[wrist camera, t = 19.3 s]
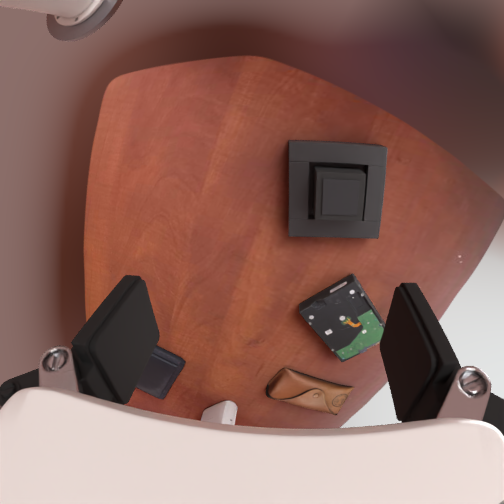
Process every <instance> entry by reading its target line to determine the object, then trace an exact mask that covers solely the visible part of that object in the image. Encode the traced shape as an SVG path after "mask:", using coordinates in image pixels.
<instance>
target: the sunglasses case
mask: <svg viewBox="0 0 504 504" xmlns="http://www.w3.org/2000/svg"><path fill="white" fill-rule="evenodd" d="M353 389H354V387H350V386H344V385H339V384H335V383H332V382H328V381H325V380H321V379H318V378H315V377H312V376H309V375H306V374H303V373H300V372H297V371H294V370H291V369H287V368H283V369H282V370H280V371H279V372H278V373H277V374H276V375H275V376H274V377H273V378H272V379H271V381H270V382H269V383H268V385H267V388H266V395H267V397H269V398H271V399H274V400H280V401H283V402H286V403H289V404H293V405H296V406H300V407H304V408H308V409H312V410H316V411H321V412H326V413H330V414H333V415H337V413H338V412H339V410H340V409H341V407H342V405H343V404H344V402H345V400H346V399H347V397H348V395H349V393H350V392H351V391H352V390H353Z"/></svg>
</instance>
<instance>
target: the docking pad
mask: <svg viewBox="0 0 504 504" xmlns="http://www.w3.org/2000/svg"><path fill="white" fill-rule="evenodd" d="M386 162H387V147H385V146H382V145H375V144H364V143H351V142H335V141H310V140H289V236H295V237H340V238H375V239H378V237H379V231H380V223H381V222H380V221H381V215H382V206H383V197H384V187H385V175H386ZM314 166H333V167H352V168H359V169H360V170H361V171H363V172H364V173H365V174H366V181H365V194H364V205H363V216H362V221H339V220H315V218H314V214H313V209H312V208H313V172H314Z"/></svg>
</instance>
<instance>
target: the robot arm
mask: <svg viewBox="0 0 504 504" xmlns="http://www.w3.org/2000/svg"><path fill="white" fill-rule="evenodd" d="M103 1H104V0H0V7H7V8H16V9H23V10H30V11H36V12H42V13H47V14H52V15H54V17H55V19H56V21H57V22H58V23H59V24H61V25H64V26H74V25H77V24H79V23H81V22H83V21H85V20H86V19H87V18H89V17H90V16H91V15H92V14H93V13H94V12H95V11H96V10H97V9H98V8H99V7H100V5H101V4H102V2H103ZM158 341H159V330H158V326H157V323H156V320H155V316H154V313H153V309H152V305H151V302H150V298H149V294H148V291H147V287H146V283H145V281H144V280H142V279H141V277H140V276H132V275H125V276H124V277H123V278H122V280H121V281H120V282H119V283H118V284H117V285H116V287H115V288H114V289H113V290H112V291H111V293H110V294H109V295H108V296H107V297H106V299H105V300H104V301H103V302H102V304H101V305H100V306H99V307H98V308H97V310H96V311H95V312H94V313H93V315H92V316H91V317H90V318H89V320H88V321H87V322H86V324H85V325H84V326H83V328H82V329H81V330H80V331H79V333H78V334H77V335H76V337H75V338H74V339H73V341H72V342H71V343H72V345H73V348H72V349H71V350H70V349H69V348H68V347H66V346H55V347H52V348H50V349H48V350H47V351H46V352H45V353H44V354H43V355H42V356H41V358H40V360H39V368H38V369H36V370H33V371H31V372H28V373H25V374H23V375H20V376H17V377H14V378H12V379H9V380H8V381H6V382H4V383H3V384H2V385H1V387H0V504H504V399H502V398H500V397H498V396H496V395H494V394H493V393H491V382H490V379H489V377H488V376H487V374H486V373H485V372H484V371H483V370H481V369H479V368H477V367H474V366H465V367H462V368H461V366H460V364H459V361H458V359H457V357H456V355H455V353H454V351H453V349H452V347H451V345H450V343H449V341H448V339H447V337H446V335H445V333H444V331H443V329H442V327H441V325H440V324H439V322H438V320H437V318H436V316H435V314H434V313H433V311H432V309H431V307H430V305H429V304H428V302H427V300H426V298H425V297H424V295H423V293H422V292H421V290H420V288H419V287H418V285H417V284H416V283H401V284H400V286H399V287H396V288H395V291H394V295H393V299H392V303H391V306H390V310H389V314H388V317H387V321H386V324H385V327H384V331H383V334H382V337H381V340H380V352H381V355H382V359H383V362H384V366H385V370H386V374H387V378H388V382H389V386H390V390H391V394H392V398H393V402H394V407H395V411H396V415H397V419H398V420H399V421H402V423H397V424H388V425H377V426H365V427H351V428H330V429H287V428H264V427H250V426H239V425H229V424H220V423H213V422H205V421H199V420H192V419H186V418H180V417H175V416H170V415H165V414H160V413H155V412H150V411H146V410H142V409H137V408H133V407H129V406H126V405H124V404H127V403H128V402H129V400H130V398H131V396H132V394H133V392H134V389H135V387H136V385H137V383H138V381H139V379H140V377H141V375H142V373H143V371H144V369H145V367H146V365H147V363H148V361H149V359H150V357H151V355H152V353H153V351H154V349H155V347H156V345H157V343H158Z"/></svg>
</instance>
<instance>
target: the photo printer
mask: <svg viewBox="0 0 504 504" xmlns="http://www.w3.org/2000/svg"><path fill="white" fill-rule="evenodd" d="M236 413H237V406H236V404H235V403H234V402H232V401H223V402H220V403H218V404H216V405H214V406H211V407H209V408H207V409H205V410H204V411H203V414H202V418H201V421H205V422H213V423H220V424H229V425H234V424H235V419H236Z"/></svg>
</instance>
